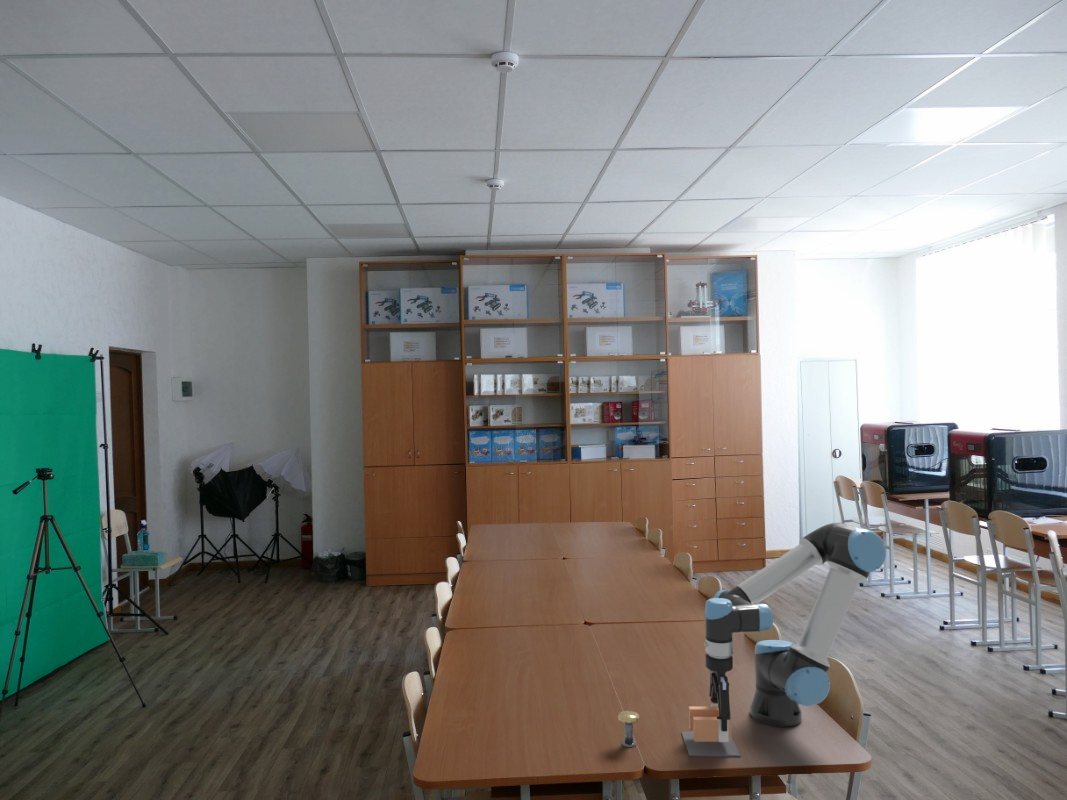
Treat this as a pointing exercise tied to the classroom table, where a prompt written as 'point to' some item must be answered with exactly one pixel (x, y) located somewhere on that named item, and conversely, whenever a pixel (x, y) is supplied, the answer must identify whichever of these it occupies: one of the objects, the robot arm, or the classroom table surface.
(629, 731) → the knob post
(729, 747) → the mat
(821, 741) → the classroom table surface
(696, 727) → the c link
